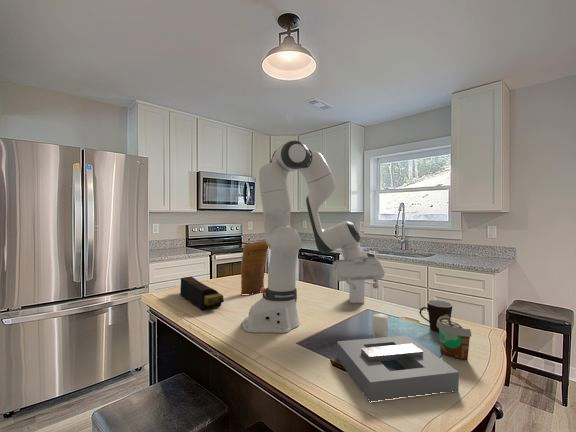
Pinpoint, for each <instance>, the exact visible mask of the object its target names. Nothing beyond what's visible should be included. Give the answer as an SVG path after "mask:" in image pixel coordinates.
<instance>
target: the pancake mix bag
mask: <svg viewBox="0 0 576 432" xmlns="http://www.w3.org/2000/svg"><path fill="white" fill-rule="evenodd" d="M268 248H269V247H268V246H267V244H266V240H262V241H255V242H251V243H245V245H243V248H242V255H241V256H242V257H241V267H240V279H241V280H240V285H241V287H240V289H241V291H240V295H241V294H252V293H256V292H260V291H261V288H262V287H264V288H265V285H264V282H265V279H264V278H265V267H266V264H267V255H268V254H267V253H268ZM260 293H261V292H260ZM256 294H257V293H256Z"/></svg>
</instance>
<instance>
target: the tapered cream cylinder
mask: <svg viewBox="0 0 576 432" xmlns="http://www.w3.org/2000/svg"><path fill="white" fill-rule="evenodd" d="M372 318H373V319H372V338H383V337H389V335H388V334H389V316H388V315H386V314H384V313H374V314H373V315H372Z"/></svg>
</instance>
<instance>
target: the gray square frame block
mask: <svg viewBox="0 0 576 432" xmlns="http://www.w3.org/2000/svg"><path fill="white" fill-rule="evenodd" d="M401 344H414V345H415V346H416V347H418V348H419V349H420V350H422V351H423V357H417V358H407V359H397V360H395V361H396V362H397V363H398V364H399V365H400V366H401V367H403V369H399V370H389V369H388V368H387V367H386V366H385V365H384V364H383V362H382V361H378V362H369V361H368V360H367V359H366V358H365V357H364V356H363V355H362V354H361V348H368V347H379V346H390V345H401ZM336 358H337V360H338V361H339V363H340V364H341V365H342V366H343V368H344V369H345V371H346V372H347V374H348V375H349V376H350V378H351V379H352V380H353V382H354V383H355V385H356V386H357V387H358V389H359V388H360V389H359V391H361V393H362V392H363V393H364V394H363V393H362V394H363V395H364V397H365V396H366V397H367V398H368V399H369V401H370V402H371V401H378V400H385V399H393V398H399V397H408V396H416V395H425V394H432V393H440V392H452V391H459V388H460V386H459V384H460V383H459V382H460V379H459V377H460V371H458V370H457V369H455V368H454V367H453V366H451V365H450V364H448V363H447V362H446V361H444V360H442V359H441V358H440V357H438V356H437V355H435V354H434V353H433V352H432V351H430V350H428V349H427V348H426V347H424V346H423V345H421V344H420V343H419V342H417V341H416V340H414V339H413V338H412V337H410V336H409V335H399V336H398V335H397V336H388V337H383V338H373V337H372V338H362V339H359V338H358V339H348V340H339V341H336ZM452 393H453V392H452ZM366 397H365V398H366ZM367 398H366V399H367ZM369 401H368V402H369ZM370 402H369V403H370Z"/></svg>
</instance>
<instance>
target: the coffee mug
mask: <svg viewBox="0 0 576 432" xmlns="http://www.w3.org/2000/svg"><path fill="white" fill-rule="evenodd" d="M426 305H427V307H426V306H423V307H421V308H420V309H419V315H420V317H422V319H424V320H425V321H426V322H428V323H429V329H430V330H431V331H433V332H435V333H439V328H438V327H437V321H438V319H439V317H442V316H447V319H449V320H450V321H451V319H452V312H453V311H452V310H453V306H454V305H453V304H452V303H450V302H449V301H445V300H440V299H431V300H428V301H426ZM425 309H426V310H427V311H428V312H427V313H428V318H426V317H424V315H423V314H422V312H423V310H425Z"/></svg>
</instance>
